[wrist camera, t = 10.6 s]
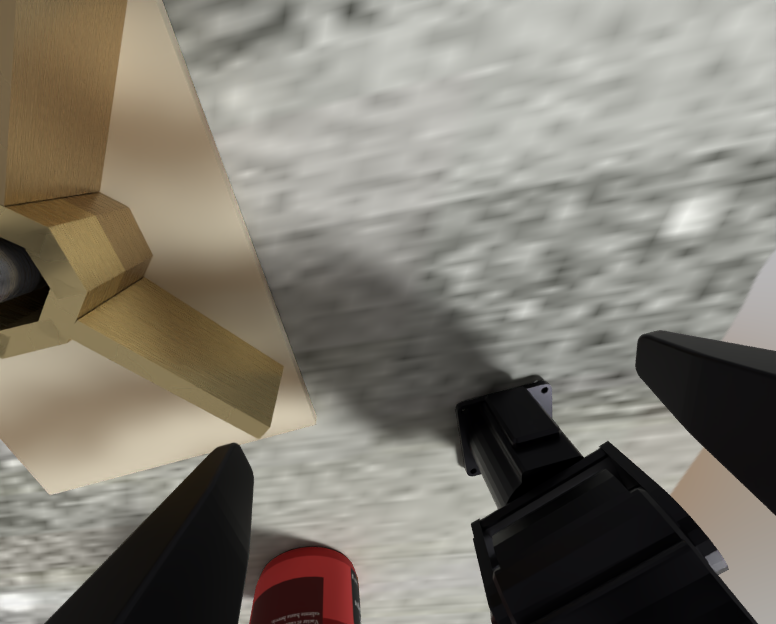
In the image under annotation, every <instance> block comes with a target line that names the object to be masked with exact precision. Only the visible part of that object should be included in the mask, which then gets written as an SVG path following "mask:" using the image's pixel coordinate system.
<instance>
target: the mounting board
mask: <svg viewBox="0 0 776 624" xmlns="http://www.w3.org/2000/svg"><path fill="white" fill-rule="evenodd" d="M99 192H101V193H103V194H105V195H106V196H108V197H110V198H112V199H114V200H116V201H118V202H120V203H122V204H124V205H126V206H128V207H129V208H130V210H131V212H132V214H133V216H134V218H135V220H136V222H137V224H138V226H139V228H140V230H141V232H142V234H143V236H144V238H145V240H146V242H147V244H148V246H149V248H150V250H151V252H152V254H153V257H152V259H151V262H150V264H149V266H148V269H147V271H146V273H145V275H144V277H146V278H147V279H149V280H150V281H152V282H153V283H155V284H156V285H158V286H160V287H161V288H163V289H164V290H166V291H167V292H169V293H170V294H172V295H174V296H175V297H177V298H178V299H180V300H181V301H183V302H184V303H186V304H188V305H189V306H191V307H192V308H194V309H195V310H197V311H199V312H200V313H202V314H203V315H205V316H206V317H208V318H209V319H211V320H213V321H214V322H216V323H217V324H219V325H220V326H222V327H223V328H225V329H227V330H228V331H230V332H231V333H233V334H234V335H236V336H237V337H239V338H241V339H242V340H244V341H245V342H247V343H248V344H250V345H252V346H253V347H255V348H256V349H258V350H259V351H261V352H262V353H264V354H266V355H267V356H269V357H270V358H272V359H273V360H275V361H276V362H278V363H280V364H281V365H283V366H284V368H283V373H282V377H281V382H280V386H279V391H278V395H277V400H276V404H275V409H274V413H273V417H272V422H271V426H270V428H269V429H268V431H267V432H266V433H265V434H264V435H263V436H262V437H261V438H260V439H263V438H267V437H271V436H275V435H279V434H282V433H286V432H290V431H294V430H297V429H301V428H305V427H309V426H313V425H316V418H317V416H316V413H315V410H314V408H313V405H312V402H311V400H310V397H309V394H308V391H307V389H306V386H305V383H304V381H303V378H302V375H301V373H300V370H299V367H298V365H297V362H296V359H295V356H294V354H293V351H292V348H291V346H290V343H289V340H288V338H287V335H286V332H285V330H284V327H283V324H282V322H281V319H280V316H279V313H278V311H277V308H276V305H275V303H274V300H273V297H272V295H271V292H270V289H269V287H268V284H267V281H266V278H265V276H264V273H263V270H262V268H261V265H260V262H259V260H258V257H257V254H256V252H255V249H254V246H253V243H252V241H251V238H250V235H249V233H248V230H247V227H246V225H245V222H244V219H243V217H242V214H241V211H240V209H239V206H238V203H237V200H236V198H235V195H234V192H233V190H232V187H231V184H230V182H229V179H228V176H227V174H226V171H225V168H224V165H223V163H222V160H221V157H220V155H219V152H218V149H217V147H216V144H215V141H214V139H213V136H212V133H211V130H210V128H209V125H208V122H207V120H206V117H205V114H204V112H203V109H202V106H201V104H200V101H199V98H198V96H197V93H196V90H195V87H194V85H193V82H192V79H191V77H190V74H189V71H188V69H187V66H186V63H185V61H184V58H183V55H182V52H181V50H180V47H179V44H178V42H177V39H176V36H175V34H174V31H173V28H172V26H171V23H170V20H169V17H168V15H167V12H166V9H165V7H164V4H163V1H162V0H128V1H127V8H126V15H125V22H124V28H123V35H122V42H121V49H120V56H119V63H118V70H117V77H116V84H115V91H114V98H113V105H112V112H111V119H110V126H109V133H108V140H107V147H106V154H105V161H104V167H103V174H102V181H101V188H100V191H99ZM0 439H1V440H2V441H3V442H4V443H5V444H6V446H7V447H8V448H9V449H10V450H11V451H12V452H13V454H14V455H15V456H16V457H17V458H18V459H19V460H20V462H21V463H22V464H23V465H24V466H25V467H26V468H27V470H28V471H29V472H30V473H31V474H32V475H33V476H34V478H35V479H36V480H37V481H38V482H39V483H40V484H41V486H42V487H43V488H44V489H45V490H46V491H47V492H48V494H49V495H52V494H56V493H60V492H64V491H67V490H71V489H75V488H79V487H82V486H86V485H90V484H94V483H97V482H101V481H105V480H109V479H113V478H116V477H120V476H124V475H128V474H131V473H135V472H139V471H143V470H147V469H150V468H154V467H158V466H162V465H165V464H169V463H173V462H177V461H180V460H184V459H188V458H192V457H196V456H199V455H203V454H207V453H211V452H212V451H213V450H214V449H215V448H216V447H219V446H222V445H226V444H230V443H238V444H239V445H241V444H245V443H248V442H252V441H256V440H260V439H257V438H255V437H253V436H251V435H250V434H248V433H246V432H244V431H242V430H240V429H238V428H236V427H235V426H233V425H231V424H229V423H227V422H225V421H223V420H221V419H220V418H218V417H216V416H214V415H212V414H210V413H208V412H207V411H205V410H203V409H201V408H199V407H197V406H195V405H193V404H192V403H190V402H188V401H186V400H184V399H182V398H180V397H178V396H177V395H175V394H173V393H171V392H169V391H167V390H165V389H164V388H162V387H160V386H158V385H156V384H154V383H152V382H150V381H149V380H147V379H145V378H143V377H141V376H139V375H137V374H135V373H134V372H132V371H130V370H128V369H126V368H124V367H122V366H121V365H119V364H117V363H115V362H113V361H111V360H109V359H107V358H106V357H104V356H102V355H100V354H98V353H96V352H94V351H92V350H91V349H89V348H87V347H85V346H83V345H81V344H79V343H78V342H76V341H74V340H71V341H70V342H68V343H66V344H62V345H58V346H54V347H50V348H46V349H42V350H37V351H33V352H29V353H25V354H21V355H17V356H13V357H9V358H5V359H2V358H0Z"/></svg>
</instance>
